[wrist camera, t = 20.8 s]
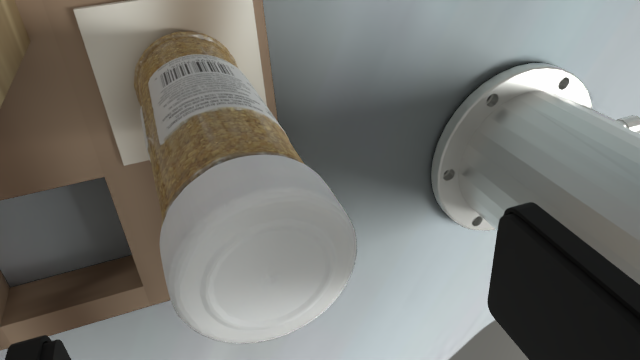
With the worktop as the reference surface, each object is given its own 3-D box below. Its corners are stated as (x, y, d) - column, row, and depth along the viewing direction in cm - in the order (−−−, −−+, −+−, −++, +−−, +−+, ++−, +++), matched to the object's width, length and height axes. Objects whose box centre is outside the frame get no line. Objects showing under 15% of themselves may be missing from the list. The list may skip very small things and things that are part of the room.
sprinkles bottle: (129, 122, 22) (156, 362, 11) (138, 18, 20) (181, 190, 9) (231, 130, 24) (336, 342, 13) (248, 36, 22) (387, 197, 11)
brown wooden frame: (241, -53, 23) (419, 42, 10) (281, 234, 32) (402, 481, 19) (-297, 14, 18) (-1373, 386, 5) (-70, 331, 27) (-235, 760, 14)
